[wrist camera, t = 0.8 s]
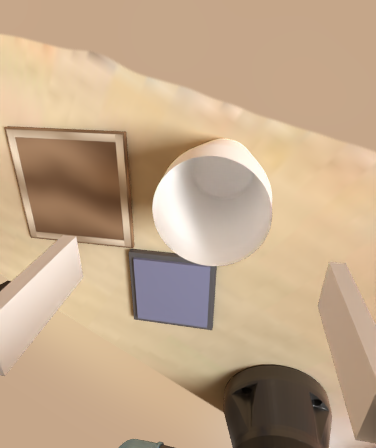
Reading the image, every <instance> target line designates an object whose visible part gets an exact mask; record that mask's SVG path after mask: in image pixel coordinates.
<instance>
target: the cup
mask: <svg viewBox="0 0 376 448" xmlns="http://www.w3.org/2000/svg"><path fill="white" fill-rule="evenodd" d="M152 212H153V219H154V223H155V226H156V229H157V231H158V233H159V235H160V237H161V238H162V240H163V241H164V242H165V244H166V245H167V246H168V247H169V248H170V249H171V250H172V251H174V252H175V253H176V254H178V255H179V256H181V257H182V258H184V259H186V260H188V261H191V262H193V263H196V264H200V265H206V266H224V265H229V264H233V263H236V262H239V261H241V260H243V259H245V258H247V257H248V256H250V255H251V254H252V253H254V252H255V251H256V250H257V249H258V248H259V247H260V246H261V244H262V243H263V242H264V240H265V238H266V237H267V235H268V232H269V229H270V226H271V221H272V190H271V186H270V183H269V180H268V177H267V175H266V173H265V171H264V170H263V168H262V167H261V166H260V164H259V163H258V162H257V161H256V159H255V158H254V157H253V156H252V154H251V153H250V152H249V151H248V150H247V149H246V148H245V147H244V146H243V145H242V144H240V143H239V142H237V141H234V140H231V139H225V138H221V139H215V140H212V141H209V142H207V143H204V144H202V145H199V146H196V147H194V148H192V149H190V150H188V151H186V152H184V153H183V154H182V155H180V156H179V157H178V158H176V159H175V160H174V161H173V162H172V164H171V165H170V166H169V167H168V169H167V171H166V172H165V174H164V176H163V178H162V180H161V181H160V183H159V185H158V187H157V189H156V191H155V194H154V198H153V205H152Z"/></svg>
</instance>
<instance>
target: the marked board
mask: <svg viewBox="0 0 376 448" xmlns="http://www.w3.org/2000/svg"><path fill="white" fill-rule="evenodd" d="M5 131H6V135H7V139H8V144H9V148H10V152H11V156H12V160H13V165H14V169H15V173H16V177H17V181H18V186H19V190H20V194H21V198H22V203H23V207H24V211H25V215H26V219H27V224H28V228H29V232H30V236H31V238H40V239H50V240H58V239H59V238H60V237H62V236H63V235H68V236H76V238H77V242H78V243H88V244H98V245H107V246H117V247H126V248H133V247H134V234H133V220H132V206H131V192H130V178H129V165H128V151H127V137H126V132H120V131H98V130H76V129H54V128H32V127H9V126H8V127H5Z"/></svg>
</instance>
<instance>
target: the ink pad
mask: <svg viewBox="0 0 376 448" xmlns="http://www.w3.org/2000/svg"><path fill="white" fill-rule="evenodd" d="M129 262H130V274H131V287H132V299H133V311H134V319H136V320H143V321H150V322H157V323H164V324H171V325H178V326H186V327H193V328H200V329H207V330H212V328H213V315H214V299H215V283H216V268H217V266H206V265H200V264H196V263H193V262H191V261H188V260H186V259H184V258H182V257H181V256H179V255H178V254H175V253H166V252H156V251H147V250H137V249H130V251H129Z"/></svg>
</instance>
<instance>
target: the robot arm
mask: <svg viewBox="0 0 376 448" xmlns="http://www.w3.org/2000/svg"><path fill="white" fill-rule="evenodd" d="M82 278H83V272H82V267H81V261H80V255H79V250H78V244H77V238H76V236H68V235H63V236H62V237H60V238H59V239H58V240H57V241H56V242H55V243H54V244H53V245H51V246H50V247H49V248H48V249H47V250H46V251H45V252H44V253H43V254H41V255H40V256H39V257H38V258H37V259H36V260H35V261H34V262H33V263H31V264H30V265H29V266H28V267H27V268H26V269H25V270H24V271H22V272H21V273H20V274H19V275H18V276H17V277H16V278H15V279H14V280H12V281H6V282H5V283H3V284H0V375H2V376H5V375H6V374H7V373H8V371H9V370H10V369H11V368H12V366H13V365H14V364H15V363H16V361H17V360H18V359H19V358H20V356H21V355H22V354H23V352H24V351H25V350H26V349H27V348H28V346H29V345H30V343H32V341H33V340H34V339H35V337H36V336H37V335H38V334H39V332H40V331H41V330H42V329H43V327H44V326H45V325H46V324H47V322H48V321H49V320H50V319H51V317H52V316H53V315H54V314H55V312H56V311H57V310H58V309H59V307H60V306H61V305H62V304H63V302H64V301H65V300H66V299H67V297H68V296H69V295H70V294H71V292H72V291H73V290H74V288H75V287H76V286H77V285H78V283H79V282H80V281H81V280H82ZM318 309H319V312H320V316H321V320H322V323H323V327H324V330H325V334H326V337H327V341H328V344H329V348H330V351H331V355H332V358H333V362H334V366H335V369H336V373H337V376H338V380H339V383H340V387H341V390H342V394H343V397H344V401H345V404H346V408H347V412H348V415H349V419H350V422H351V426H352V429H353V433H354V436H355V440H360V441H365V442H371V443H376V324H375V322H374V320H373V318H372V316H371V314H370V312H369V310H368V308H367V306H366V304H365V302H364V300H363V298H362V296H361V294H360V292H359V289H358V287H357V285H356V283H355V281H354V279H353V277H352V275H351V273H350V271H349V269H348V267H347V265H346V263H337V262H329V263H328V267H327V271H326V275H325V279H324V283H323V287H322V291H321V295H320V299H319V302H318ZM224 414H225V418H226V422H227V426H228V430H229V434H230V438H231V442H232V446H233V448H329V440H330V431H331V422H332V414H331V409H330V404H329V400H328V397H327V394H326V392H325V390H324V389H323V387H322V386H321V385H320V384H319V383H318V382H317V381H316V380H315V379H313V378H312V377H310V376H309V375H307V374H305V373H303V372H301V371H298V370H295V369H292V368H288V367H283V366H274V365H266V366H257V367H252V368H249V369H246V370H243V371H241V372H240V373H238V374H236V375H235V376H234V377H233V378H232V379H231V380H230V381H229V382H228V384H227V386H226V388H225V392H224ZM119 448H174V447H170V446H166V445H164V444H163V442H158V443H153V442H149V441H144V440H138V439H131V440H128V441H126V442H124V443H123V444H122V445H121V446H120V447H119Z"/></svg>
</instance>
